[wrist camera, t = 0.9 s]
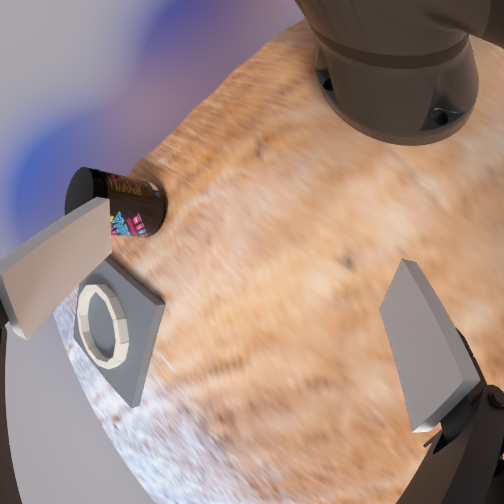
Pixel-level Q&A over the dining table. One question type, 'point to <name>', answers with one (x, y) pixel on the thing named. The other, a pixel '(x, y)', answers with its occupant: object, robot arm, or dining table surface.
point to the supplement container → (120, 201)
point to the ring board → (137, 327)
